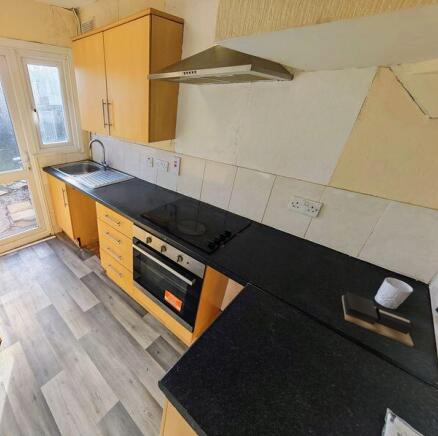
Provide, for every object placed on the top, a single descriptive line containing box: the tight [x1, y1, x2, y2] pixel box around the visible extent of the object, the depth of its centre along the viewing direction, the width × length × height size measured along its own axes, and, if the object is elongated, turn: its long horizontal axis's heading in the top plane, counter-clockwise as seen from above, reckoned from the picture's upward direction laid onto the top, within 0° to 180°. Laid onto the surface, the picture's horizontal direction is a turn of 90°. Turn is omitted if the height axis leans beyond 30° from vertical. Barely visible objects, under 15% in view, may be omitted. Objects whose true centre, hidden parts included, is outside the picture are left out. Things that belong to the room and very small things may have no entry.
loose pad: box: [375, 305, 413, 335], centre depth 82 cm, size 8×6×4 cm
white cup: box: [374, 277, 414, 310], centre depth 90 cm, size 8×8×10 cm
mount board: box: [341, 291, 415, 347], centre depth 84 cm, size 18×14×4 cm
